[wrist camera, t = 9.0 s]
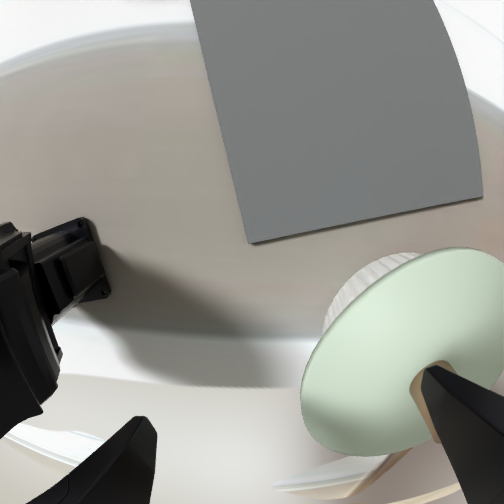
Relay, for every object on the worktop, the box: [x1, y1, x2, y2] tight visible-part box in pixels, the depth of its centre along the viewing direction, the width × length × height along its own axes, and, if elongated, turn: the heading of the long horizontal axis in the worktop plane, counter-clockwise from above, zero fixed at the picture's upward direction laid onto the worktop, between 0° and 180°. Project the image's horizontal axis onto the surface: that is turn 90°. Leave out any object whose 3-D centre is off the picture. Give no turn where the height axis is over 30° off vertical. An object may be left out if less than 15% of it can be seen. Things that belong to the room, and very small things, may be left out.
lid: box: [300, 247, 504, 457], centre depth 12 cm, size 16×16×5 cm
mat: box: [190, 0, 483, 244], centre depth 15 cm, size 19×19×1 cm
